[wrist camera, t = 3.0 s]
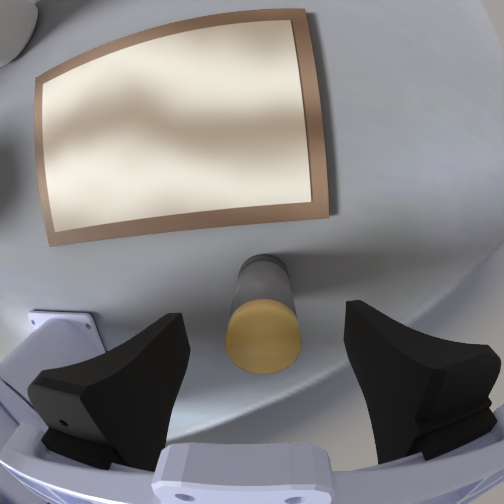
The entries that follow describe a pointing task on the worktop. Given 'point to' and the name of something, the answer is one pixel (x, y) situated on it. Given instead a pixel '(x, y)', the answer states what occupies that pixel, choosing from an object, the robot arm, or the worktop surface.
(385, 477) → the robot arm
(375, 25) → the worktop surface
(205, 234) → the worktop surface
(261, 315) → the grey yellow rounded cylinder
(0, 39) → the beverage can
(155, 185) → the writing board
